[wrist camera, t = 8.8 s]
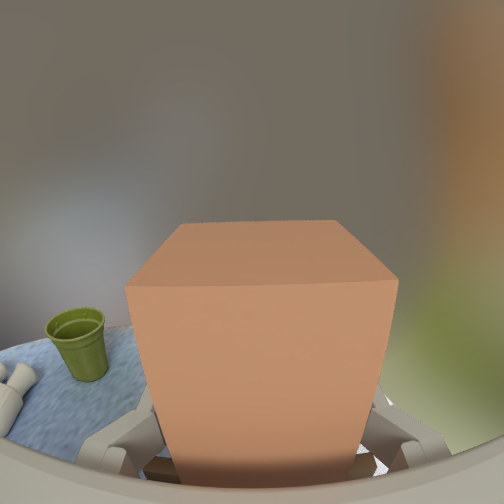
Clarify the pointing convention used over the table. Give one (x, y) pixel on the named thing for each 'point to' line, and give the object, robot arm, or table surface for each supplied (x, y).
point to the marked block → (262, 349)
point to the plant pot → (80, 341)
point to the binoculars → (13, 393)
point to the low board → (167, 473)
